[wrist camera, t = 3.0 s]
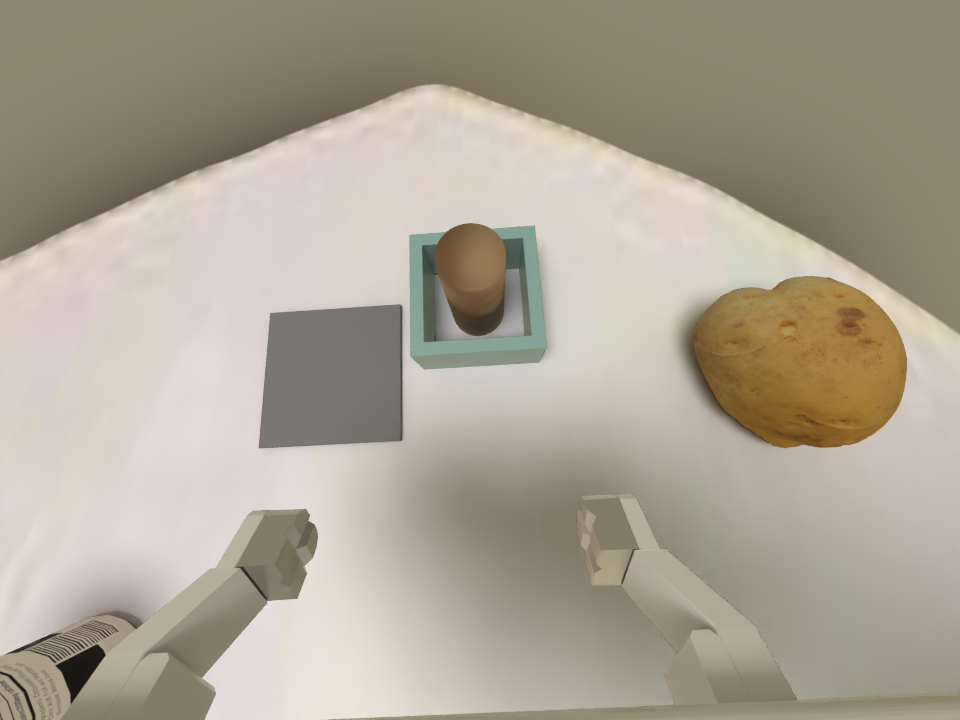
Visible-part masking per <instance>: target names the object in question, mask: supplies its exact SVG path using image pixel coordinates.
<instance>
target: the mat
mask: <svg viewBox="0 0 960 720" xmlns="http://www.w3.org/2000/svg"><path fill="white" fill-rule="evenodd" d="M386 441H402V306H401V305H385V306H370V307H355V308H341V309H326V310H311V311H296V312H281V313H270V323H269V335H268V346H267V358H266V370H265V381H264V393H263V405H262V416H261V428H260V439H259V448H273V447H292V446H311V445H330V444H348V443H367V442H386Z"/></svg>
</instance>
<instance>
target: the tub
mask: <svg viewBox="0 0 960 720" xmlns="http://www.w3.org/2000/svg"><path fill="white" fill-rule="evenodd" d="M492 230H493V231H494V232H496V233H497V234H498V235H499V237H500V238H501V240H502V241H503V243H504V246H505V250H506V265H505V269H514V268H519V272H520V284H521V296H522V307H523V319H524V331H525V336H515V337H500V338H484V339H468V340H452V341H436V342H435V324H434V282H433V274H438V272H437V269H436V266H435V261H434V253H435V249H436V246H437V244H438V242H439V240H440V239H441V237H442V236H443V235H444V234H445V233H446V232H443V233H429V234H416V235H410V356H411V357H412V358H413V359H414V360H415V361H416V362H417V363H418V364H419V365H420V366H421V367H422V368H423V369H438V368H454V367H471V366H487V365H504V364H521V363H537V362H539V361H540V359H541V357H542V355H543V354H544V352H545V350H546V348H547V347H546V336H545V326H544V316H543V306H542V295H541V285H540V275H539V264H538V254H537V244H536V233H535V226H523V227H510V228H496V229H492Z"/></svg>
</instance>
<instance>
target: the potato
mask: <svg viewBox="0 0 960 720" xmlns="http://www.w3.org/2000/svg"><path fill="white" fill-rule="evenodd" d="M693 347H694V351H695V355H696V358H697V361H698V363H699V365H700V368H701V370H702V372H703V374H704V376H705V378H706V380H707V382H708V384H709V386H710V388H711V389H712V391H713V393H714V395H715V397H716V399H717V401H718V402H719V404H720V405H721V406H722V408H723V409H724V410H725V411H726V412H727V413H728V414H729V415H731V416H732V417H733V418H735V419H736V420H738V421H739V422H740V423H741V424H742V425H743V426H744V427H745V428H747V429H749V430H751V431H753V432H754V433H755V434H757V435H758V436H759V437H761V438H762V439H763V440H765V441H767V442H769V443H771V444H772V445H773V446H778V447H783V448H787V447H795V446H799V445H809V446H814V447H840V446H842V445H851V444H854V443H858V442H860V441H862V440H863V439H865V438H867V437H869V436H871V435H872V434H874V433H875V432H876V431H877V430H879V429H880V428H881V427H883V426H884V425H885V424H886V423H887V422H888V420H889V419H890V418H891V417H892V416H893V414H894V413H895V411H896V410H897V408H898V406H899V404H900V401H901V399H902V395H903V391H904V387H905V381H906V372H907V357H906V352H905V348H904V344H903V342H902V339H901V337H900V334H899V332H898V330H897V328H896V327H895V325H894V323H893V322H892V321H891V319H890V318H889V316H888V315H887V314H886V313H885V312H884V311H883V309H882V308H881V307H880V306H878V305H877V304H876V303H875V302H874V301H873V300H872V299H871V298H870V297H869V296H867V295H866V294H865V293H863V292H861V291H860V290H858V289H856V288H853V287H851V286H849V285H846V284H844V283H841V282H838V281H836V280H834V279H831V278H823V277H815V276H804V277H794V278H790V279H786V280H784V281H782V282H780V283H779V284H778V285H777V286H776V287H774V288H773V289H772V290H765V289H760V288H742V289H736V290H733V291H731V292H729V293H727V294H725V295H723V296H721V297H720V298H719V299H718V300H717V301H715V302H714V303H713V304H712V305H711V306H710V308H709V309H708V310H707V311H706V312H705V314H704V315H703V316H702V318H701V319H700V321H699V322H698V324H697V326H696V328H695V331H694V335H693Z"/></svg>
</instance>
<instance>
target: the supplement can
mask: <svg viewBox="0 0 960 720" xmlns="http://www.w3.org/2000/svg"><path fill="white" fill-rule="evenodd" d="M135 630H136V628H135V627H134V626H132V625H131V624H130V623H128V622H127V621H126V620H124V619H121V618H118V617H114V616H111V615H103V616H95V617H89V618H87V619H85V620H83V621H80V622H78V623H76V624H73V625H71V626H69V627H67V628H64V629H62V630H60V631H57V632H55V633H53V634H51V635H48V636H46V637H44V638H41V639H39V640H37V641H35V642H32V643H30V644H28V645H25V646H23V647H21V648H19V649H16V650H14V651H12V652H9V653H7V654H5V655H3V656H0V720H60V719H61V718H62V716H63V715H64V714H65V712H66V711H67V709H68V708H69V707H70V705H71V704H72V702H73V701H74V700H75V698H76V697H77V695H78V694H79V692H80V691H81V690H82V688H83V687H84V685H85V684H86V683H87V681H88V680H89V678H90V677H91V676H92V674H93V673H94V671H95V670H96V668H97V667H98V666H99V664H100V663H101V661H102V660H103V659H104V657H105V656H106V654H107V653H108V652H109V651H110V650H112V649H113V648H114V647H115V646H117V645H118V644H119V643H120V642H121V641H123V640H124V639H125V638H126V637H128V636H129V635H130V634H131V633H132V632H134V631H135Z"/></svg>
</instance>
